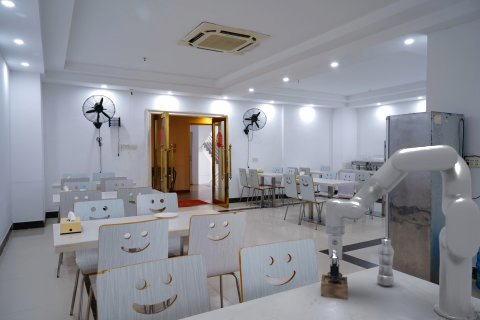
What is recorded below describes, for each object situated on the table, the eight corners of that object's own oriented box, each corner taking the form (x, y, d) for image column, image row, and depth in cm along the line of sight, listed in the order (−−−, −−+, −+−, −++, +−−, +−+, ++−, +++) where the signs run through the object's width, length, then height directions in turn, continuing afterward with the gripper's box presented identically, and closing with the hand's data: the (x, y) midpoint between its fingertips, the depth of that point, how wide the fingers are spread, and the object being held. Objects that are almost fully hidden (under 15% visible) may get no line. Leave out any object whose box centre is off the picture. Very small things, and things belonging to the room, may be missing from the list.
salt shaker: (343, 286, 128) (343, 256, 128) (327, 285, 130) (328, 255, 129) (341, 280, 134) (342, 251, 134) (326, 279, 135) (327, 250, 135)
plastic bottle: (375, 285, 139) (376, 239, 139) (379, 280, 145) (379, 236, 145) (392, 289, 136) (392, 241, 135) (395, 284, 141) (395, 238, 141)
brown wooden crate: (346, 289, 135) (347, 277, 135) (347, 299, 126) (347, 286, 126) (322, 286, 138) (322, 274, 138) (320, 296, 129) (321, 283, 129)
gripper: (345, 235, 122) (344, 280, 123) (344, 225, 139) (343, 265, 139) (324, 233, 124) (324, 278, 125) (326, 224, 141) (325, 263, 141)
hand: (334, 271), depth 132 cm, fingers open, 9 cm apart
